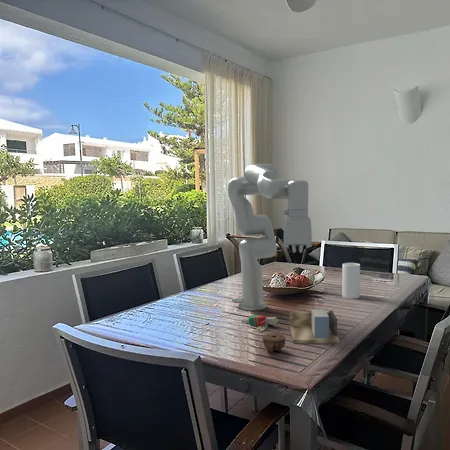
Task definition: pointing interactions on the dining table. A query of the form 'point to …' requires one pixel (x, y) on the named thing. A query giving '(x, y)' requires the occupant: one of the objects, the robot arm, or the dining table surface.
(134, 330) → the dining table surface
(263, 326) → the toy
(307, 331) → the tan shallow square box
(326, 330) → the book
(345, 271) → the cup
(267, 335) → the artifact
